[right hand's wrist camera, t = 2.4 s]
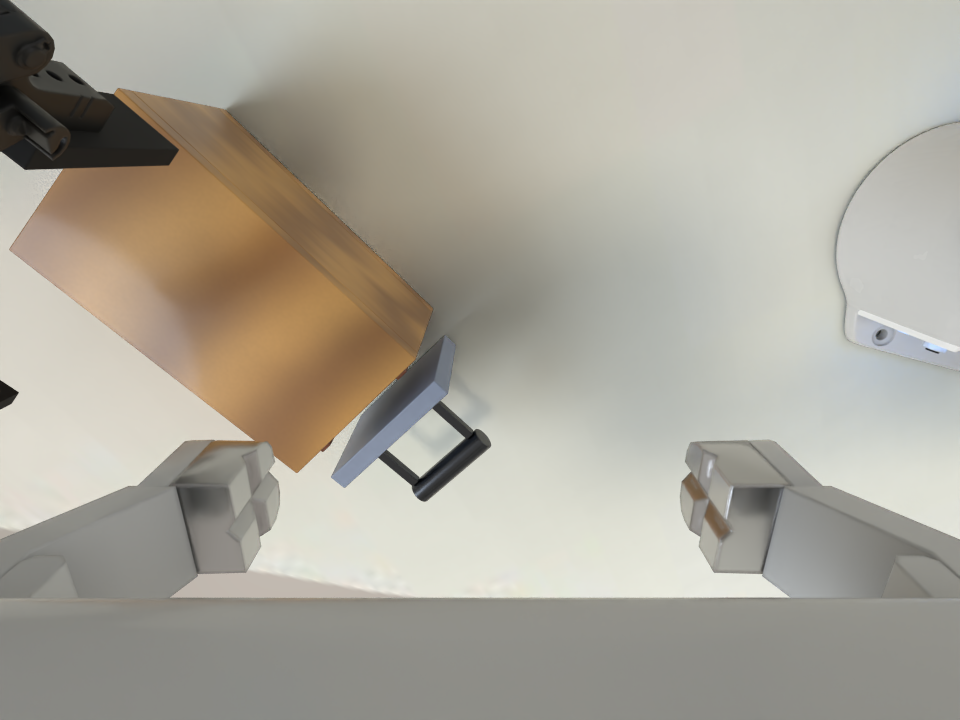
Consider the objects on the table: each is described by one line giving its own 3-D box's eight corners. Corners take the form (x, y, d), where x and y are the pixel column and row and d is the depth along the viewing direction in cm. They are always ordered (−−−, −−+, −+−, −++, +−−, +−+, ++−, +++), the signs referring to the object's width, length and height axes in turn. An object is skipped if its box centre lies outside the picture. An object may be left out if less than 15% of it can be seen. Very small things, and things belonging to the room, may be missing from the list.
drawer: (506, 392, 42) (510, 450, 33) (421, 466, 44) (406, 537, 36) (265, 164, 36) (197, 165, 27) (184, 265, 38) (99, 294, 30)
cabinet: (433, 308, 40) (415, 359, 30) (341, 399, 43) (296, 473, 33) (224, 108, 35) (117, 87, 25) (136, 225, 38) (8, 249, 28)
